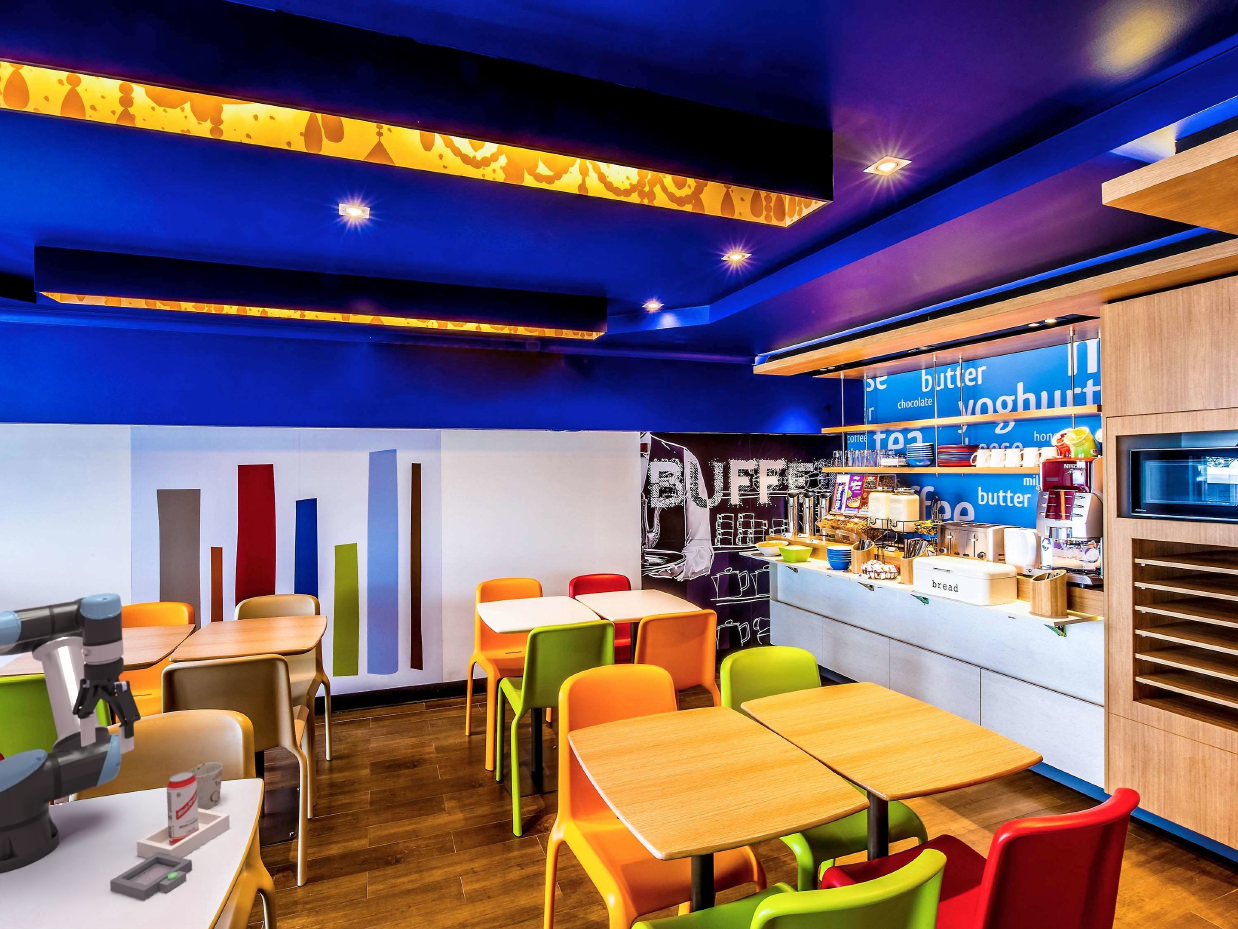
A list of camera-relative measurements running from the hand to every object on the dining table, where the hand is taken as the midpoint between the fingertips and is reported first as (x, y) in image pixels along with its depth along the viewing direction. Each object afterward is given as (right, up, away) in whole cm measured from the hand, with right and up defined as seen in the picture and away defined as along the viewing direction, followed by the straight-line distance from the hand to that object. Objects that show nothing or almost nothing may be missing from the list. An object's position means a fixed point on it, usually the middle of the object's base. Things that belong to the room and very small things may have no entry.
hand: (107, 747), depth 155 cm
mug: (+7, -26, +24) cm, 36 cm away
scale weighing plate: (+17, -27, -8) cm, 33 cm away
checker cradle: (+18, -26, -9) cm, 33 cm away
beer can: (+14, -26, +6) cm, 30 cm away
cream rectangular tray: (+14, -26, +6) cm, 31 cm away
